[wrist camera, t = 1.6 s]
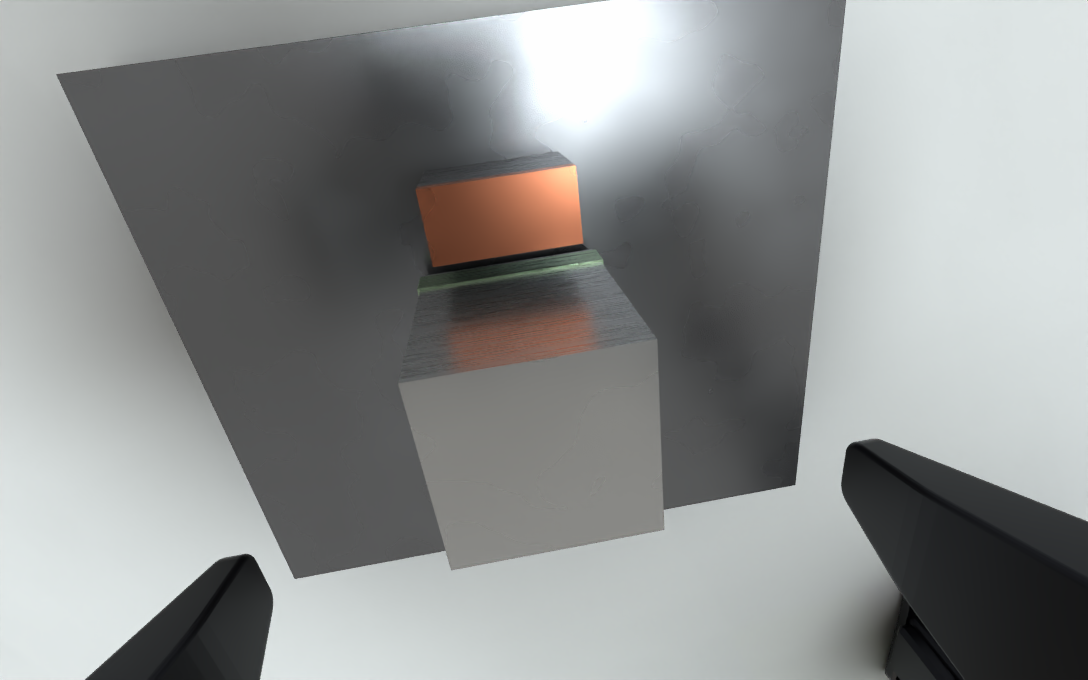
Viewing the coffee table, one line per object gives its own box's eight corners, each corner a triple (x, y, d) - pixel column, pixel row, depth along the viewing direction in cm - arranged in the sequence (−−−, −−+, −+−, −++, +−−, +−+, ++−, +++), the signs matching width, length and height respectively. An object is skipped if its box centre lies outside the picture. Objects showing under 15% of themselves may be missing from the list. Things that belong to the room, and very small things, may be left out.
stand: (797, -17, 13) (942, -60, 9) (765, 447, 19) (843, 544, 15) (117, 75, 12) (-58, 72, 8) (311, 530, 18) (267, 656, 14)
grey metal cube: (593, 246, 13) (661, 336, 8) (606, 393, 15) (666, 531, 10) (420, 274, 13) (393, 381, 8) (455, 419, 14) (448, 572, 10)
